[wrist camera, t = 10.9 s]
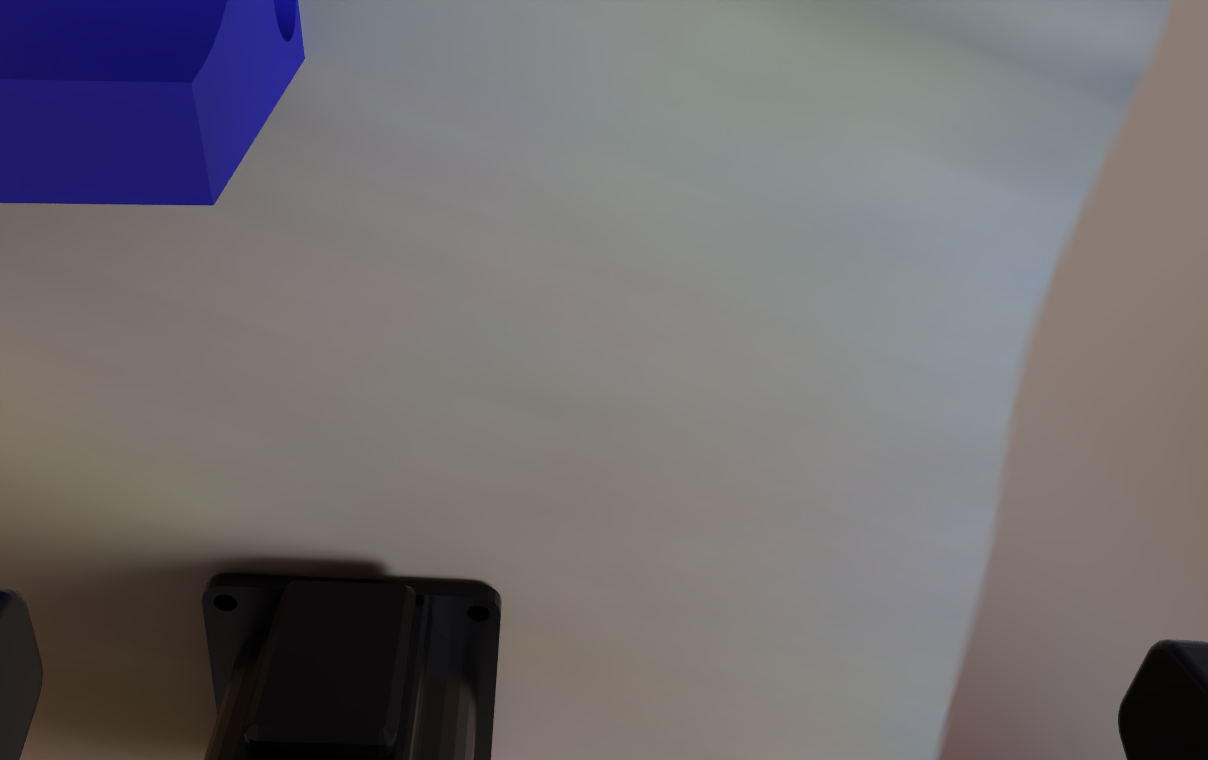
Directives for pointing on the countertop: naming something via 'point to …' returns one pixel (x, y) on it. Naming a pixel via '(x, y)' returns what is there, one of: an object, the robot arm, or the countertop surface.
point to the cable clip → (137, 95)
